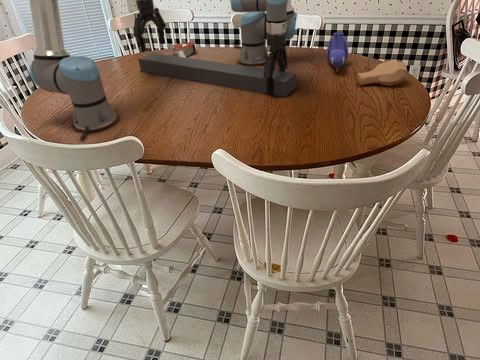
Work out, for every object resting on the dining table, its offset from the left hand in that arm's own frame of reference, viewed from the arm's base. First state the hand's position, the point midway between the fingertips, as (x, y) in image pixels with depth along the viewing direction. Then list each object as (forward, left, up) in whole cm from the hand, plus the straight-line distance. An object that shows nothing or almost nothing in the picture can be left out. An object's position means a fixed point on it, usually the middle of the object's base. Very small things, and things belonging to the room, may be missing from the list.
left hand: (153, 47), depth 172 cm
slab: (-17, -28, -11) cm, 35 cm away
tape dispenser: (+20, -10, -11) cm, 24 cm away
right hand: (-33, -57, -10) cm, 67 cm away
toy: (-9, -87, -11) cm, 88 cm away
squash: (-31, -101, -11) cm, 106 cm away
